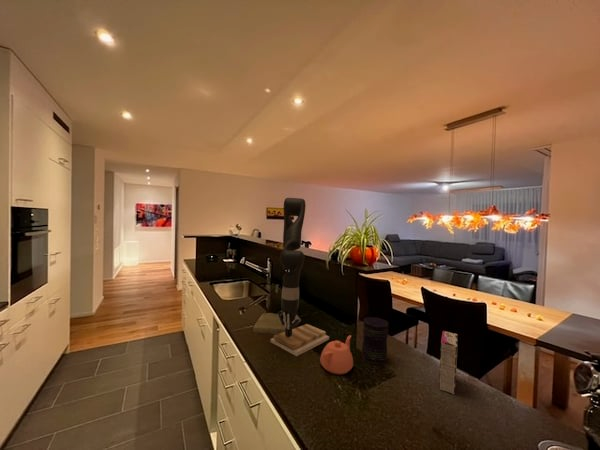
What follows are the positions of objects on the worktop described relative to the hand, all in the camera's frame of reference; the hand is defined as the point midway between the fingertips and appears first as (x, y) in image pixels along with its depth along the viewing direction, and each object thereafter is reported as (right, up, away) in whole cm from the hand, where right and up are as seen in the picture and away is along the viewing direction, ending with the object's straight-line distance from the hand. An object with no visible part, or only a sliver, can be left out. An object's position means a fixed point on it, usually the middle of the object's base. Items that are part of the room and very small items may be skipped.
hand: (288, 336), depth 110 cm
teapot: (+19, -6, -13) cm, 24 cm away
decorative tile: (-7, -5, +22) cm, 23 cm away
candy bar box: (+57, -8, -21) cm, 61 cm away
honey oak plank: (+3, -3, +3) cm, 5 cm away
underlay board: (+5, -5, +6) cm, 9 cm away
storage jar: (+35, -6, -6) cm, 36 cm away
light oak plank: (+11, -3, +12) cm, 16 cm away
